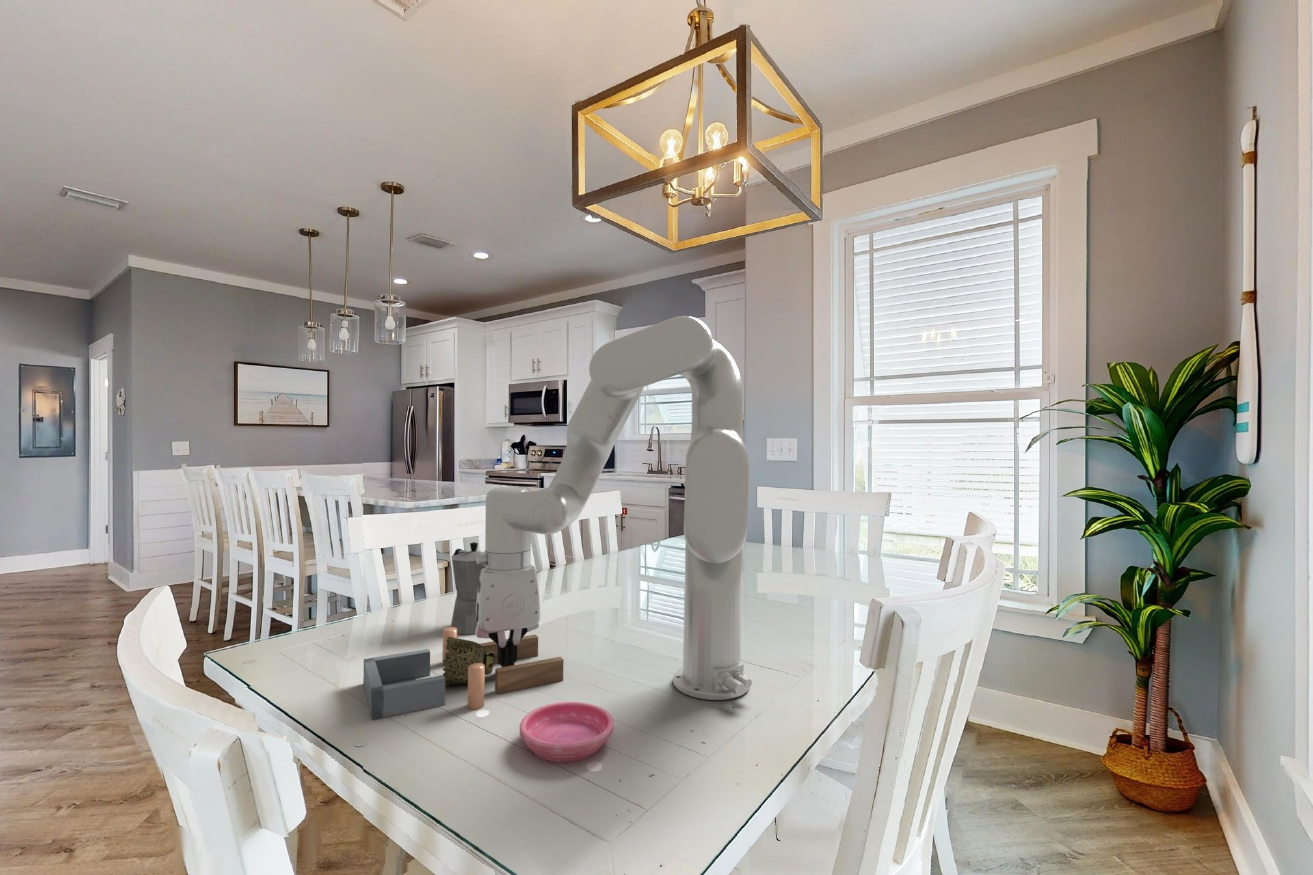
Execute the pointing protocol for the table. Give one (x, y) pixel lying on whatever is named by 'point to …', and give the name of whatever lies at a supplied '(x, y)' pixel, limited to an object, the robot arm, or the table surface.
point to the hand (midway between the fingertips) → (507, 667)
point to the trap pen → (401, 684)
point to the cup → (464, 660)
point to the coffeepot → (466, 589)
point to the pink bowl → (566, 730)
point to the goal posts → (469, 674)
